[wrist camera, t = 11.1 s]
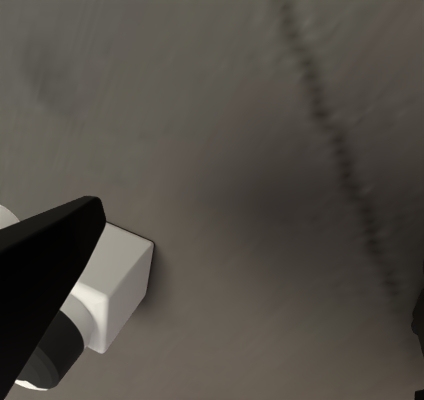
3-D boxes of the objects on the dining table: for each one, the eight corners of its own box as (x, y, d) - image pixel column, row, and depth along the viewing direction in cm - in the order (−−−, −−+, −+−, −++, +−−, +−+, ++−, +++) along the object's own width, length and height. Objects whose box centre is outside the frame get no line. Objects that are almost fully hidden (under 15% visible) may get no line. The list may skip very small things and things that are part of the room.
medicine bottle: (86, 211, 29) (-46, 310, 19) (155, 241, 28) (54, 362, 18) (85, 266, 33) (-24, 372, 23) (146, 294, 32) (60, 418, 22)
